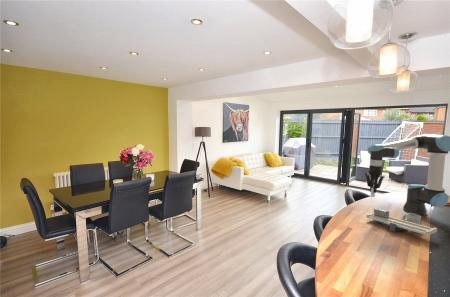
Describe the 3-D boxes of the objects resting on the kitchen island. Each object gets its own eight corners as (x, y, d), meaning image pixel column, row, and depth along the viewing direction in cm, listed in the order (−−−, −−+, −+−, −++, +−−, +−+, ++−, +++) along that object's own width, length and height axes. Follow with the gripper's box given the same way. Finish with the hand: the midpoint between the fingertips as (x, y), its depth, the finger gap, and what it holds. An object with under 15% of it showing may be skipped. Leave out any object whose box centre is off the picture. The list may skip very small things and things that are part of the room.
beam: (375, 214, 171) (375, 212, 171) (436, 231, 139) (437, 228, 139) (366, 217, 166) (366, 214, 166) (427, 235, 134) (427, 232, 134)
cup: (417, 230, 152) (419, 218, 151) (400, 225, 160) (401, 213, 159) (421, 228, 156) (422, 215, 155) (403, 222, 164) (404, 211, 163)
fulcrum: (401, 226, 158) (402, 218, 157) (406, 228, 155) (407, 220, 154) (389, 230, 151) (390, 222, 150) (394, 232, 148) (395, 224, 148)
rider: (377, 215, 167) (377, 208, 167) (388, 218, 160) (389, 211, 159) (373, 216, 165) (373, 208, 165) (385, 219, 158) (385, 211, 158)
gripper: (363, 164, 169) (360, 194, 171) (382, 167, 157) (378, 199, 160) (369, 163, 172) (366, 193, 175) (388, 166, 161) (384, 198, 163)
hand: (372, 196), depth 167 cm, fingers closed
